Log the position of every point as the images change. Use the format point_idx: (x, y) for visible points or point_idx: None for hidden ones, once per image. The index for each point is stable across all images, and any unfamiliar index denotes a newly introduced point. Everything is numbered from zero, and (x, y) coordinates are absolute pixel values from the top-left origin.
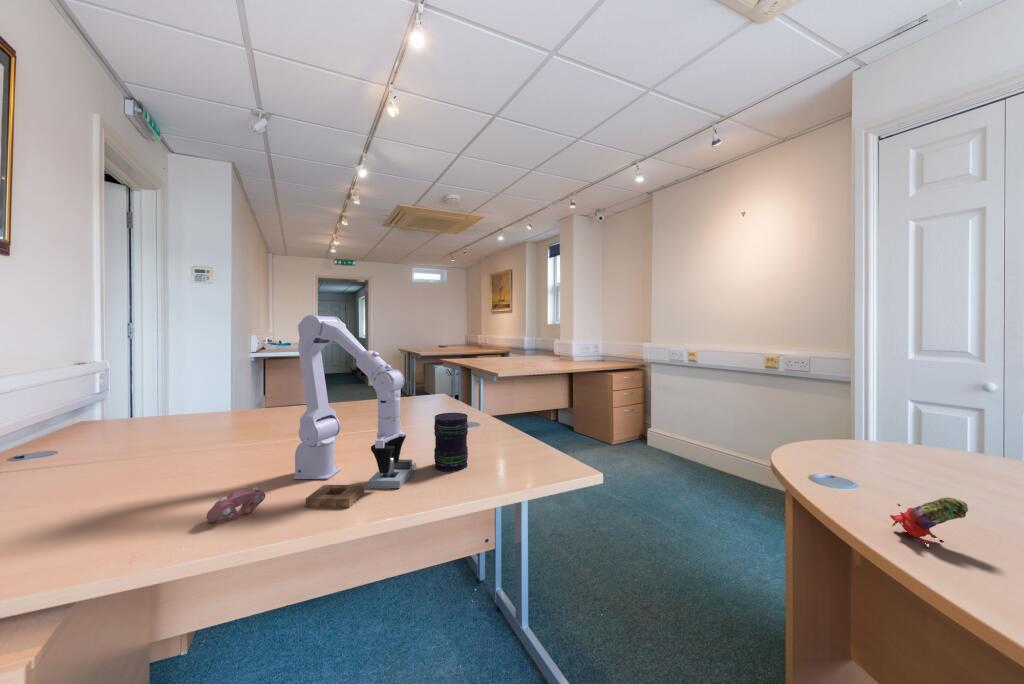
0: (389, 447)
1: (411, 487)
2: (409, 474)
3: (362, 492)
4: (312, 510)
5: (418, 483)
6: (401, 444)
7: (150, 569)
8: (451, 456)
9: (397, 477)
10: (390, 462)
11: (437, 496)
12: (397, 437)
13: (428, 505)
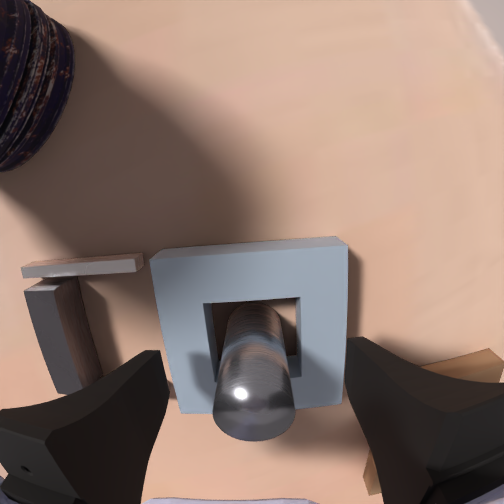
0: (493, 431)
1: (313, 177)
2: (141, 254)
3: None
4: None
5: (250, 156)
6: (85, 408)
7: None
8: (27, 23)
9: (295, 280)
10: (284, 378)
11: (396, 29)
12: (80, 491)
13: (472, 60)
